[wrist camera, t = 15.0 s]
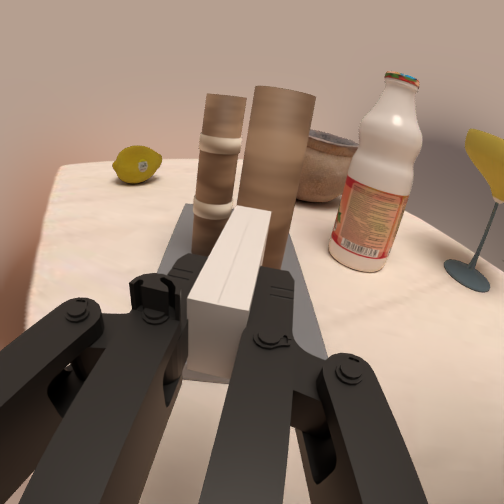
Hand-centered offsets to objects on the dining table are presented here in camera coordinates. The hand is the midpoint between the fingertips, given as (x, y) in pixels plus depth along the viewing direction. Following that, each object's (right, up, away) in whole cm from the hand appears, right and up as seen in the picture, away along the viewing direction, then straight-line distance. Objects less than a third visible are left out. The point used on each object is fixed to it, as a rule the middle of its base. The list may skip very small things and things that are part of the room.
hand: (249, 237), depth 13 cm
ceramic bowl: (+12, +12, +56) cm, 58 cm away
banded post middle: (-5, -1, +23) cm, 24 cm away
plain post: (-1, -7, +13) cm, 15 cm away
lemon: (-24, +14, +48) cm, 56 cm away
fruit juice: (+16, -2, +33) cm, 36 cm away
